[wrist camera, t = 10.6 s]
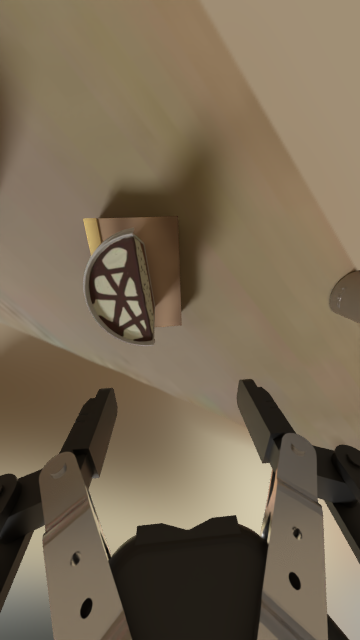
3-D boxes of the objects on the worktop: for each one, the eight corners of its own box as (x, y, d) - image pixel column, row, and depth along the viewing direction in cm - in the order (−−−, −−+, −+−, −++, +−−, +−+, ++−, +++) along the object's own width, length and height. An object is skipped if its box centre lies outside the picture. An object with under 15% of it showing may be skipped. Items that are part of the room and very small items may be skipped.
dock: (175, 219, 29) (178, 215, 24) (179, 314, 35) (181, 326, 30) (96, 222, 28) (83, 218, 23) (115, 318, 34) (107, 331, 29)
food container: (95, 235, 24) (55, 234, 15) (142, 230, 24) (130, 226, 15) (118, 320, 29) (98, 357, 20) (156, 315, 29) (154, 349, 20)
